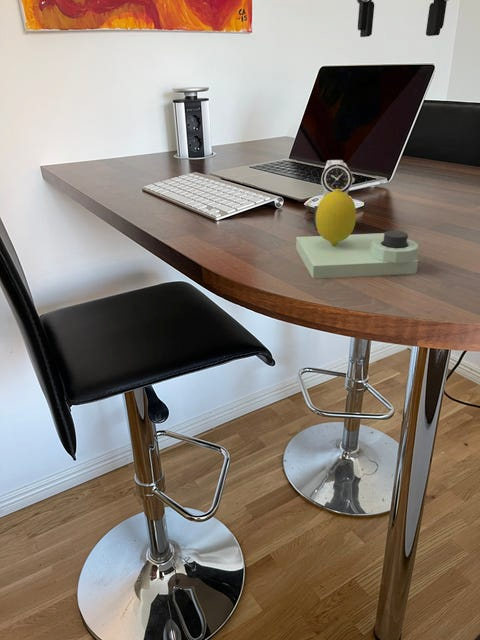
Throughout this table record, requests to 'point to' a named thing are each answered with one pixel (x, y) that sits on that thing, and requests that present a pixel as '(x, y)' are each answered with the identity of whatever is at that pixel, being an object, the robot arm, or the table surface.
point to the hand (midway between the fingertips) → (399, 36)
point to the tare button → (395, 239)
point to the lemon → (335, 216)
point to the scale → (356, 256)
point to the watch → (335, 179)
